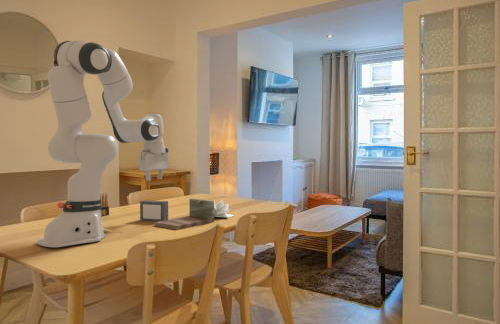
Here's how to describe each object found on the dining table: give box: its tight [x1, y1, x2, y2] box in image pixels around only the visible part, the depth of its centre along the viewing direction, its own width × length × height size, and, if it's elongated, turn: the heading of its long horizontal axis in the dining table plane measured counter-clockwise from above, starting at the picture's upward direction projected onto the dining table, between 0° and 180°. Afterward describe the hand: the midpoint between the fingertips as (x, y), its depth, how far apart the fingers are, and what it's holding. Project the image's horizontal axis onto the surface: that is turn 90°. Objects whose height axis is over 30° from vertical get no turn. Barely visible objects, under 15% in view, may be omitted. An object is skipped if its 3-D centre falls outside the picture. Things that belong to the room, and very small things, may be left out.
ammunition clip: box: [100, 191, 110, 218], centre depth 173 cm, size 11×2×12 cm, turn 150°
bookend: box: [153, 198, 215, 231], centre depth 159 cm, size 22×14×10 cm, turn 144°
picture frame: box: [139, 199, 169, 223], centre depth 166 cm, size 4×12×9 cm, turn 74°
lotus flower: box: [213, 198, 235, 219], centre depth 177 cm, size 14×15×9 cm
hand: (154, 179), depth 166 cm, fingers open, 8 cm apart
